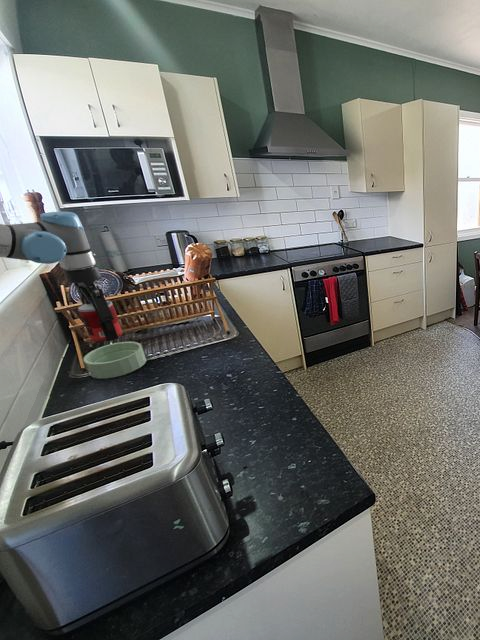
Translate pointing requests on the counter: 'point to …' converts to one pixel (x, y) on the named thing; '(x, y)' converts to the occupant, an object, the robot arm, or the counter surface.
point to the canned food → (92, 321)
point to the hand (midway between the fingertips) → (107, 335)
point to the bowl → (115, 360)
